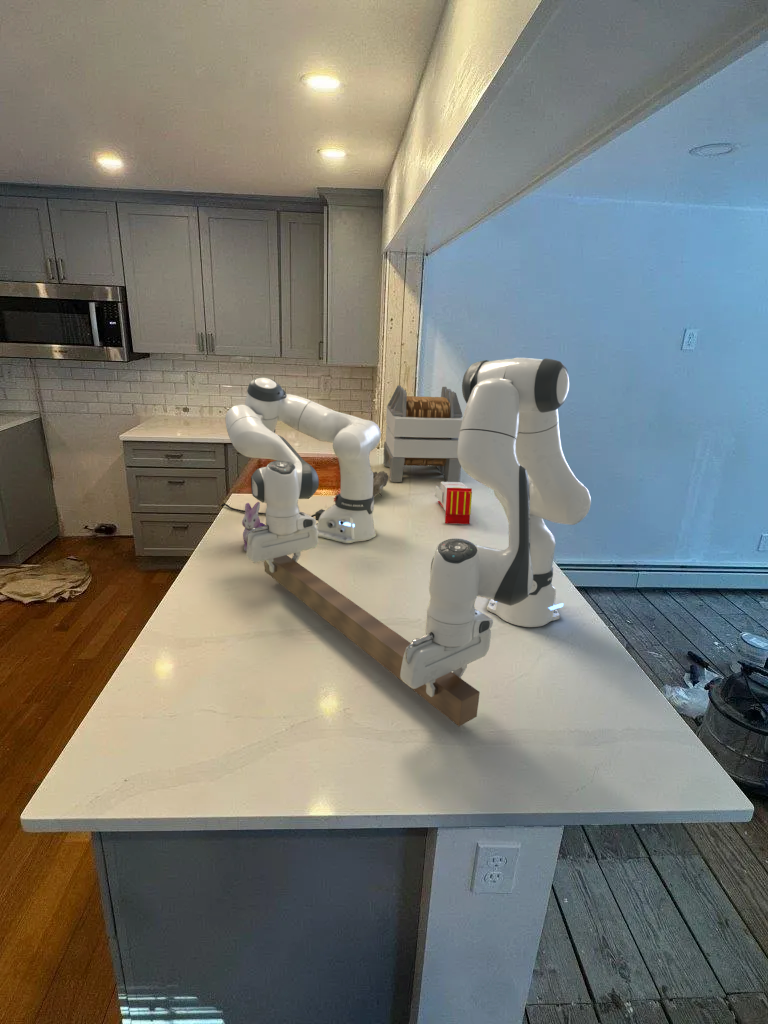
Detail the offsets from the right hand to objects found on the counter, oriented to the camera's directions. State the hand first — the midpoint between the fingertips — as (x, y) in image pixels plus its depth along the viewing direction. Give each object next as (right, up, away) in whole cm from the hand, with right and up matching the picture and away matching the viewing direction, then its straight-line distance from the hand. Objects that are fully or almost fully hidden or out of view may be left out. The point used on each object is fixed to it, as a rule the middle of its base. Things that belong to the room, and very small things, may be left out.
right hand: (443, 688), depth 109 cm
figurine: (-53, +23, +74) cm, 94 cm away
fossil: (-16, +41, +129) cm, 137 cm away
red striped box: (+15, +34, +115) cm, 120 cm away
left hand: (-39, +18, +47) cm, 64 cm away
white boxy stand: (+6, +53, +165) cm, 174 cm away
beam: (-20, +6, +24) cm, 32 cm away
